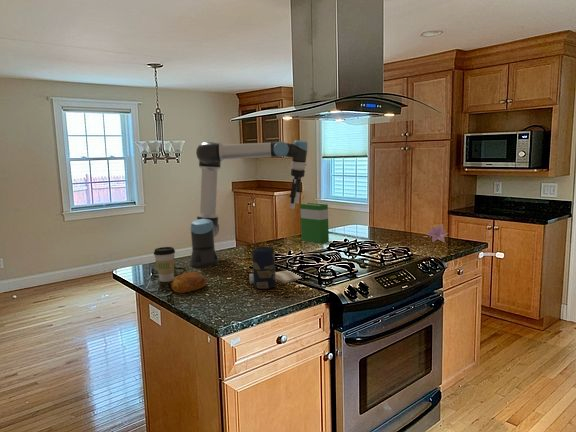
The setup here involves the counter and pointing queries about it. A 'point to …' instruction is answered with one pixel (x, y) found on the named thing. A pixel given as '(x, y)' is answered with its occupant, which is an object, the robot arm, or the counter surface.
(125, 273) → the counter surface
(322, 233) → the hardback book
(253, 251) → the canister
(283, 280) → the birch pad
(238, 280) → the counter surface
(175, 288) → the bread loaf
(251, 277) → the metal slug
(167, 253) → the coffee cup
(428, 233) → the lily
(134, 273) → the counter surface
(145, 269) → the counter surface
